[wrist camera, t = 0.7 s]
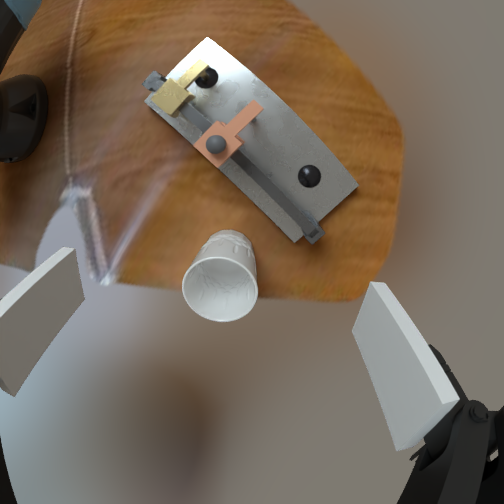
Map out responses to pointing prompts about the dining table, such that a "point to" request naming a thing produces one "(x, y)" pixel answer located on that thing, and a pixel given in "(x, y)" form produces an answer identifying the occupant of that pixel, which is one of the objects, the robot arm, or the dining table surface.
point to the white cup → (222, 278)
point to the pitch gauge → (254, 139)
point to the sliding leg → (226, 135)
